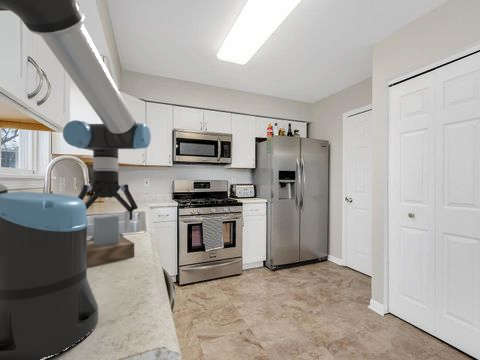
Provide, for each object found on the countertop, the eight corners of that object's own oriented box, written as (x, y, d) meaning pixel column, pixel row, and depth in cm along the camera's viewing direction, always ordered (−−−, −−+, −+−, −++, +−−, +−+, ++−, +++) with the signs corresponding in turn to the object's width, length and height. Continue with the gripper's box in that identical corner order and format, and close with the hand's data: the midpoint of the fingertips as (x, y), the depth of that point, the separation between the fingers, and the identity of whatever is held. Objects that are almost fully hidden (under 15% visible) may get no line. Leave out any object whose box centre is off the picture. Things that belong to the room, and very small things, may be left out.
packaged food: (115, 245, 92) (115, 233, 92) (84, 246, 91) (84, 234, 91) (124, 240, 101) (124, 229, 101) (96, 241, 100) (96, 230, 100)
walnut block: (85, 268, 68) (85, 252, 68) (78, 257, 78) (78, 243, 78) (134, 258, 77) (134, 243, 77) (122, 249, 88) (122, 236, 88)
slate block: (98, 246, 74) (98, 219, 74) (93, 243, 78) (93, 217, 78) (118, 243, 78) (118, 216, 78) (112, 240, 82) (112, 215, 82)
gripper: (138, 172, 90) (139, 225, 89) (58, 169, 72) (58, 237, 72) (146, 171, 84) (147, 228, 84) (62, 168, 67) (62, 241, 66)
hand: (106, 232), depth 78 cm, fingers open, 13 cm apart
